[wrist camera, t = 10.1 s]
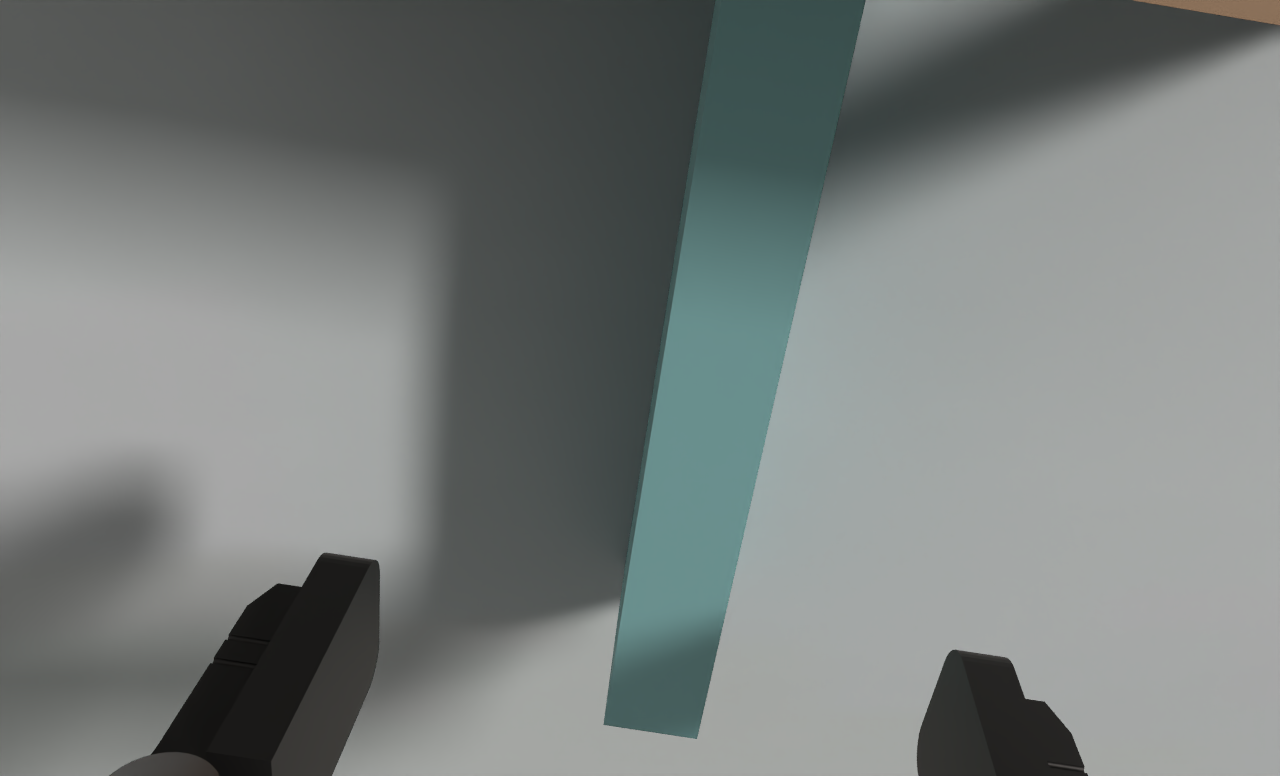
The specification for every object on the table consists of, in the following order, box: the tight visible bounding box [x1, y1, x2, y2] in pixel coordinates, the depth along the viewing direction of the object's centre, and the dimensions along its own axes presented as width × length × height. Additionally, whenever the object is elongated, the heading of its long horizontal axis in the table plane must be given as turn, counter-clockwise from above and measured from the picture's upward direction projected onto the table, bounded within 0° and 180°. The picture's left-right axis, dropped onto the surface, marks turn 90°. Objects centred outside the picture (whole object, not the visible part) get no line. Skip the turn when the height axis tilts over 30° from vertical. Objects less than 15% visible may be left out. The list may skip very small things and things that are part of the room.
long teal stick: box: [604, 0, 865, 739], centre depth 14 cm, size 23×2×4 cm, turn 172°
